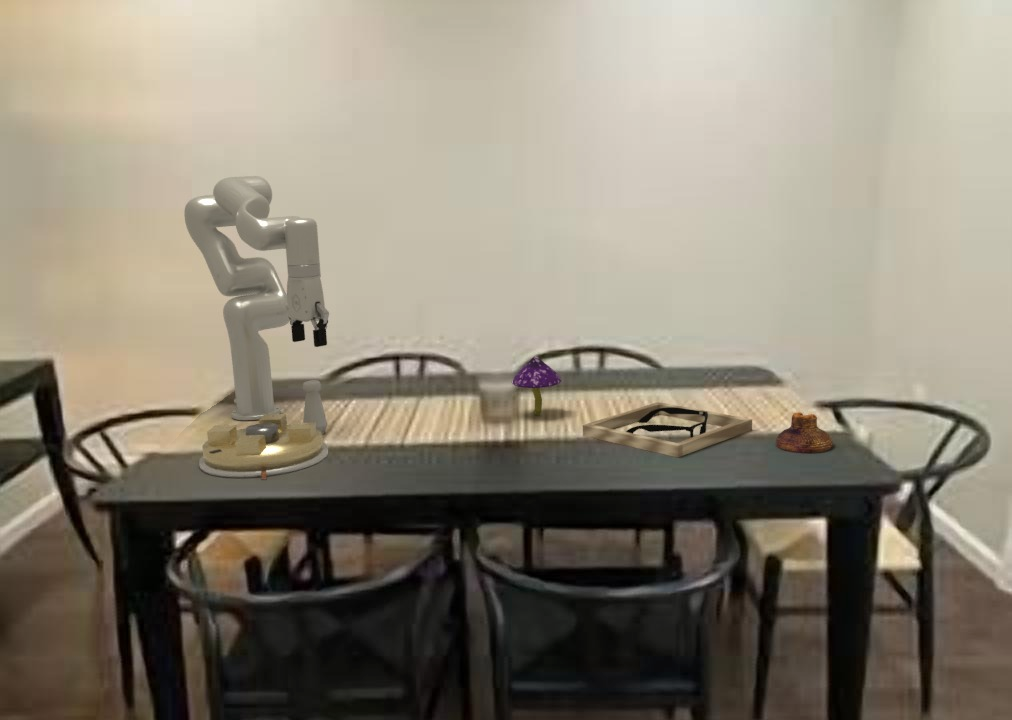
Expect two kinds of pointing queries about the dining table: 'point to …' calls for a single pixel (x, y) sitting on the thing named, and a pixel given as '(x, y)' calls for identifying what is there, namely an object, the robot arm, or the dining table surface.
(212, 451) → the round wooden platform
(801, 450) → the bell
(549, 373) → the decorative mushroom
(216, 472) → the round white base
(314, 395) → the salt shaker
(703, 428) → the glasses
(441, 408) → the dining table surface
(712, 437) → the shallow square wooden tray
